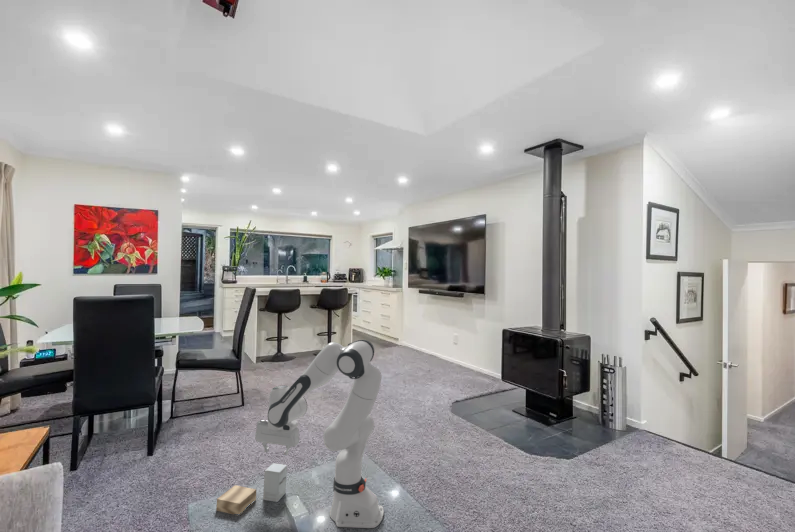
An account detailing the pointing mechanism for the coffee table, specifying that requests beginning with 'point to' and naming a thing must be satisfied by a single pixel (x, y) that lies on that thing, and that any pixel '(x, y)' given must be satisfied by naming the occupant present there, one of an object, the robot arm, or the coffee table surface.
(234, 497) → the oak riser block
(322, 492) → the coffee table surface
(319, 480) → the coffee table surface
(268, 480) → the supplement box
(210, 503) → the coffee table surface
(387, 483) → the coffee table surface
